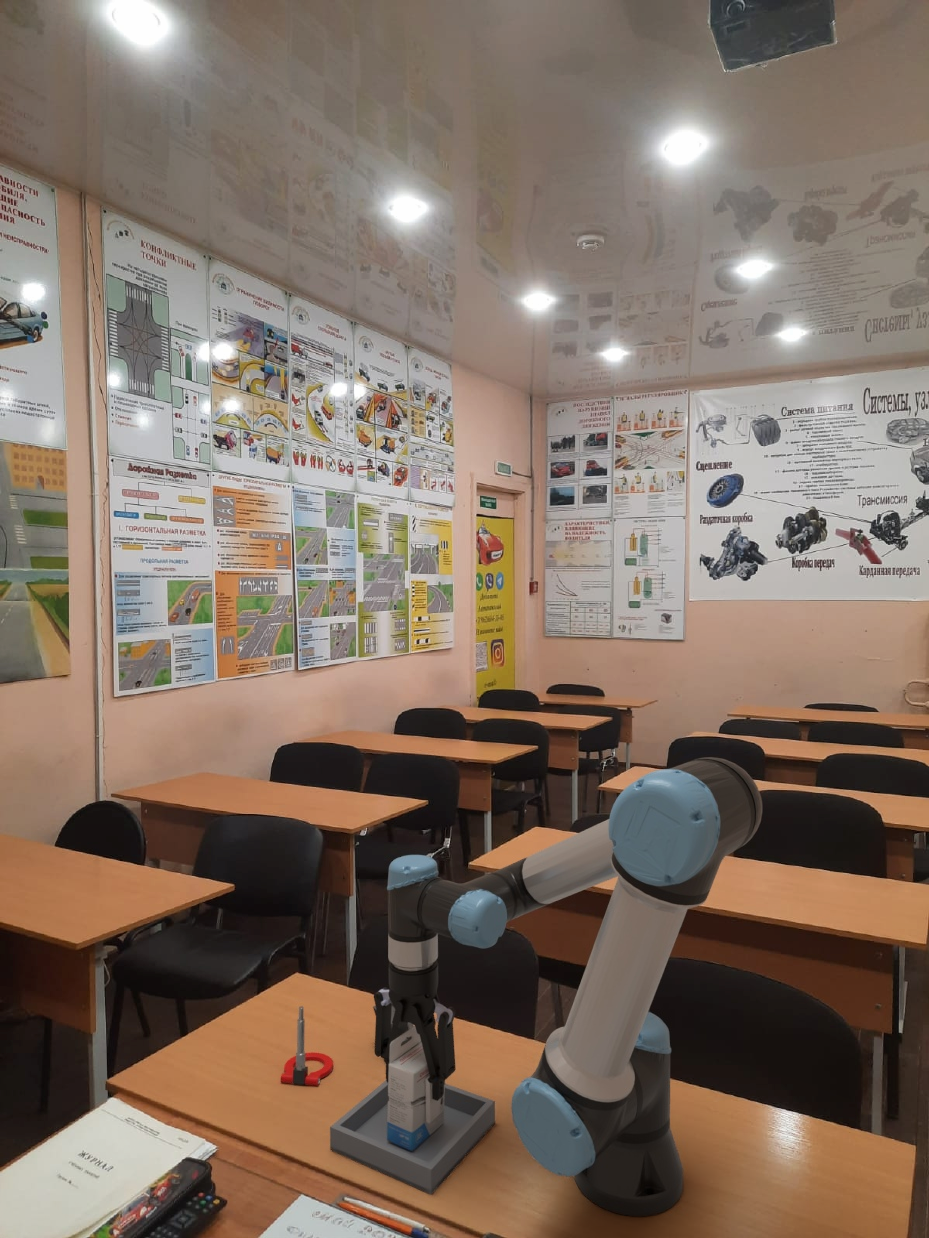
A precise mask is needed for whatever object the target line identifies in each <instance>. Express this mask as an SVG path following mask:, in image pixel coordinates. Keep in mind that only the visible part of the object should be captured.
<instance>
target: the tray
mask: <svg viewBox="0 0 929 1238" xmlns="http://www.w3.org/2000/svg"><path fill="white" fill-rule="evenodd" d="M387 1116H388V1083H387V1081H386V1080H384V1081H383V1082H382V1083H381V1084H380V1085H379V1086H377V1087H375V1089H373V1090H372V1091H371V1092H370V1093H369V1094H367V1095H366V1096H364V1098H363V1099H361V1100H360V1102H358V1103H357V1104H355V1106H354V1107H352V1108H351V1109H349V1111H347V1112H346V1113H345V1114H344V1115H343V1116H341V1117H340V1118H338V1119H337V1120H336V1122H334V1123H333V1124H332V1125H331V1126H330V1127H329V1135H330V1137H329V1141H330V1142H329V1143H330V1145H329V1146H330V1147H329V1149H330V1151H331V1150H332V1151H331V1152H333V1151H334V1153H336V1154H339V1155H340V1156H343V1157H344V1158H347V1159H348V1160H349V1159H350V1160H351V1161H354V1162H356V1163H358V1164H361V1165H363V1166H365V1167H368V1168H370V1169H371V1170H374V1171H376V1172H379V1173H381V1174H383V1175H386V1176H388V1177H390V1178H392V1179H395V1180H396V1181H399V1182H401V1183H404V1184H406V1185H409V1186H410V1187H412V1188H415V1189H417V1190H420V1191H421V1192H424V1193H426V1194H429V1195H430V1196H431V1195H433V1193H434V1192H435V1191H437V1189H438V1188H440V1186H441V1185H442V1183H444V1182H445V1180H446V1179H447V1178H448V1177H449V1176H450V1174H451V1173H452V1172H453V1171H454V1170H455V1169H456V1168H457V1167H458V1166H459V1165H460V1163H461V1162H462V1161H463V1160H464V1159H465V1157H467V1155H468V1154H469V1153H470V1152H471V1151H472V1149H474V1147H475V1146H476V1145H477V1144H478V1143H479V1142H480V1141H481V1140H482V1138H483V1137H484V1136H485V1135H486V1134H487V1133H488V1132H489V1130H491V1128H492V1127H493V1126H494V1125H495V1124H496V1101H495V1100H493V1099H490V1098H487V1097H484V1096H482V1095H479V1094H476V1093H474V1092H470V1091H468V1090H465V1089H462V1088H460V1087H456V1086H453V1085H451V1084H448V1083H445V1098H444V1123H443V1124H442V1125H441V1126H440V1127H439V1128H438V1129H437V1130H435V1131H434V1132H433V1133H432V1134H431V1135H430V1136H429V1137H428V1138H426V1139H425V1140H424V1141H423V1142H422V1143H421V1144H420V1145H419V1146H417V1147H416V1148H415V1149H414V1150H413V1151H410V1150H408V1149H406V1148H403V1147H401V1146H399V1145H397V1144H395V1143H393V1142H390V1141H388V1140H387Z"/></svg>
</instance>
